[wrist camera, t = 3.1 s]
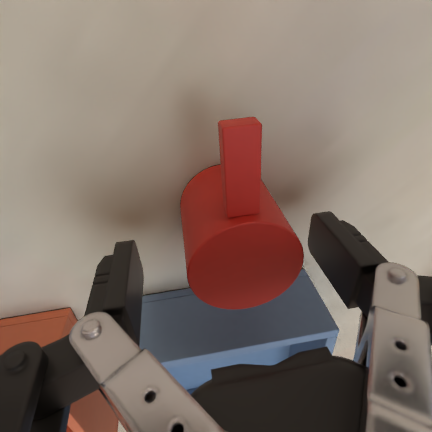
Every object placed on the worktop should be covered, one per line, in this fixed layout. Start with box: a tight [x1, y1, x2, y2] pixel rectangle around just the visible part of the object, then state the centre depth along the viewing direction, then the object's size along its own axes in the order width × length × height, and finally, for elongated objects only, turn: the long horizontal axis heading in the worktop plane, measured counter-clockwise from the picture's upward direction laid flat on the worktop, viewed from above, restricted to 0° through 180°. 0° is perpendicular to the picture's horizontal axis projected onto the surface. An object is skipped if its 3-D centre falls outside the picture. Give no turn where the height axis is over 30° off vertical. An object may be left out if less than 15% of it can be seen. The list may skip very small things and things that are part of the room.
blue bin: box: [139, 269, 339, 395], centre depth 20 cm, size 12×11×5 cm
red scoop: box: [180, 117, 304, 310], centre depth 12 cm, size 8×5×5 cm, turn 4°
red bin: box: [0, 308, 119, 432], centre depth 19 cm, size 12×11×5 cm
